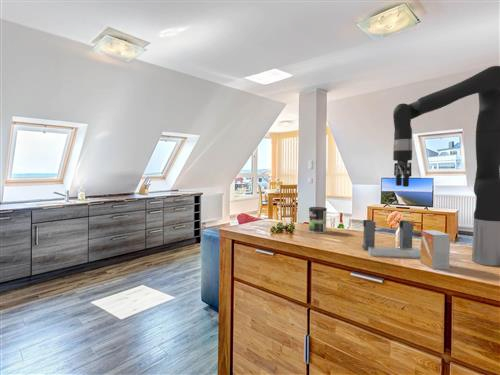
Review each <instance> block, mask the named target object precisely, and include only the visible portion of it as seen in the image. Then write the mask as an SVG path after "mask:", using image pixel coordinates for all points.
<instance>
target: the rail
mask: <svg viewBox="0 0 500 375" xmlns="http://www.w3.org/2000/svg"><path fill="white" fill-rule="evenodd" d="M367 252H368V255H369V256H370V257H384V258H386V257H387V258H407V259H408V258H409V259H411V258H413V259H420V257H421V249H419V248H415V247H412V248H398V247H389V246H388V247H386V246H374V247H369V250H367Z"/></svg>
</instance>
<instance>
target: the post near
mask: <svg viewBox="0 0 500 375" xmlns="http://www.w3.org/2000/svg"><path fill="white" fill-rule="evenodd" d="M414 224H415V223H414V222H410V220H399V224H398V225H399V226H398V228H399V246H400V248H413V231H414ZM399 246H398V247H399Z"/></svg>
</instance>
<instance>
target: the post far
mask: <svg viewBox="0 0 500 375" xmlns="http://www.w3.org/2000/svg"><path fill="white" fill-rule="evenodd" d="M362 221H363V222H362V225H363V240H362V241H363V242H362V243H363V244H362V245H361V249H363V251H368V250H369V247H375V244H376V243H375V241H376V240H375V239H376V238H375V236H376V233H375V232H376V231H375V230H376V222H375V221H374V220H373V219H363V220H362Z"/></svg>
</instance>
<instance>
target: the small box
mask: <svg viewBox="0 0 500 375" xmlns="http://www.w3.org/2000/svg"><path fill="white" fill-rule="evenodd" d="M420 232H421V236H420V237H421V240H420V250H421V257H420V258H419V260H420V263H421V264H423V265H425V266H427V267H428V268H430V269H432V270H449V269H450V250H451V248H450V247H451V245H450V244H451V234H448V233H445V232H443V231H439V230H437V229H436V230H435V229H434V230H433V229H429V230H428V229H426V230H425V229H423V230H421V231H420Z"/></svg>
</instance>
